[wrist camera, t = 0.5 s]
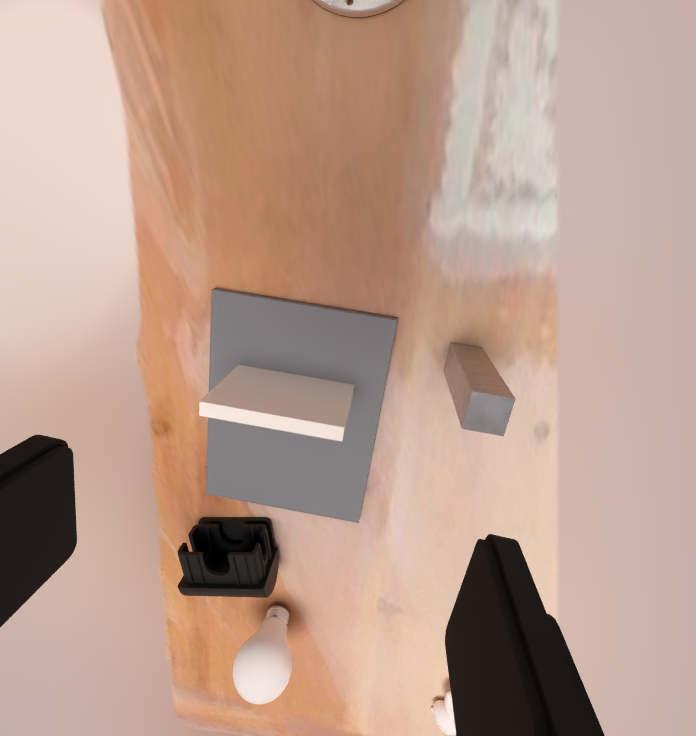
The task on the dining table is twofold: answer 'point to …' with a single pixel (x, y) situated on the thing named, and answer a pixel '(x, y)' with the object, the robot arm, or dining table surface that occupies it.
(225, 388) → the tile
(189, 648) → the dining table surface
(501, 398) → the metal bar
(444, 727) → the rabbit figurine
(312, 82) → the dining table surface
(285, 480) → the mat
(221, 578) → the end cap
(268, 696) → the light bulb
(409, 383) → the dining table surface
